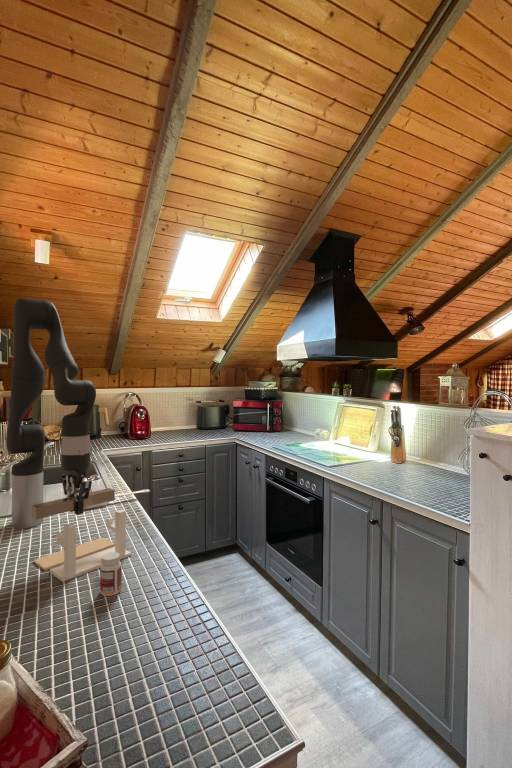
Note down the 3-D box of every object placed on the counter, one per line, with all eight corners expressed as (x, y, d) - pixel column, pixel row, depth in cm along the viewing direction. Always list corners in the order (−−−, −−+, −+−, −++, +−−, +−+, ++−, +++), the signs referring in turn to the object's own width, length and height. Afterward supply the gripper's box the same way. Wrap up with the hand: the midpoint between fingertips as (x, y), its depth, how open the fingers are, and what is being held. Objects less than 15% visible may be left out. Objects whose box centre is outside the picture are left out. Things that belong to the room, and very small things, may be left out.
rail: (31, 516, 105) (31, 505, 105) (109, 497, 122) (109, 488, 122) (36, 519, 103) (36, 507, 103) (114, 499, 120) (114, 489, 120)
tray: (33, 562, 107) (33, 560, 107) (103, 539, 123) (103, 537, 123) (44, 570, 103) (44, 568, 103) (115, 545, 118) (115, 543, 118)
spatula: (146, 494, 168) (146, 488, 168) (152, 498, 164) (152, 491, 164) (75, 507, 151) (75, 499, 151) (79, 511, 147) (79, 503, 147)
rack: (49, 572, 102) (49, 522, 102) (117, 548, 117) (117, 504, 116) (62, 581, 97) (62, 529, 97) (131, 555, 112) (131, 510, 112)
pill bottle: (114, 583, 97) (114, 549, 97) (125, 590, 94) (125, 555, 94) (95, 591, 93) (96, 556, 93) (106, 599, 90) (106, 562, 90)
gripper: (51, 450, 114) (51, 510, 114) (74, 456, 105) (74, 522, 105) (77, 446, 119) (77, 504, 120) (101, 452, 110) (101, 514, 111)
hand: (76, 512), depth 112 cm, fingers closed on rail, 3 cm apart
